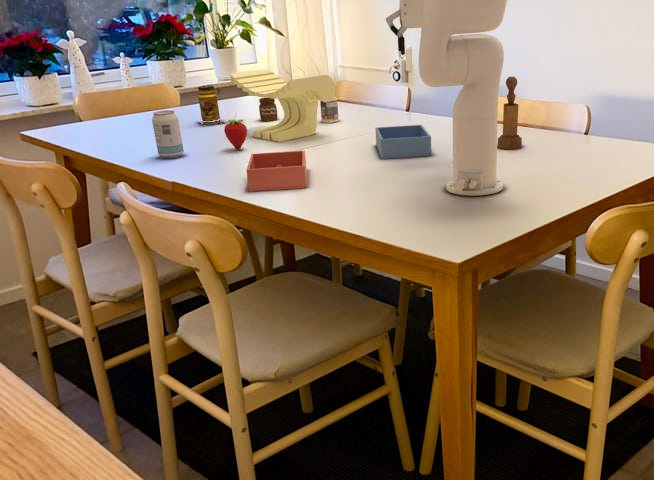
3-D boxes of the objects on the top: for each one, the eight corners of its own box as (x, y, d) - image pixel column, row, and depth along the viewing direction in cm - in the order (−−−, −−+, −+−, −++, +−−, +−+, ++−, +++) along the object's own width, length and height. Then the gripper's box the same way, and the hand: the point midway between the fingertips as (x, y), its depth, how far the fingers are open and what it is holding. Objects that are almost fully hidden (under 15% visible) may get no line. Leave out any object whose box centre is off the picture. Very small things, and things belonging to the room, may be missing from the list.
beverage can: (189, 154, 209) (181, 110, 203) (176, 159, 203) (168, 114, 198) (167, 153, 211) (159, 110, 205) (154, 159, 205) (145, 114, 199)
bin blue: (431, 155, 195) (431, 136, 193) (381, 158, 194) (380, 139, 192) (422, 142, 211) (421, 124, 208) (376, 145, 209) (375, 127, 207)
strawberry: (239, 146, 216) (234, 110, 211) (254, 149, 211) (249, 113, 207) (222, 149, 212) (217, 113, 208) (237, 153, 208) (232, 116, 203)
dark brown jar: (259, 119, 256) (254, 82, 250) (277, 117, 257) (273, 81, 252) (261, 122, 251) (257, 84, 245) (280, 120, 252) (275, 83, 247)
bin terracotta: (306, 187, 171) (304, 166, 169) (249, 191, 170) (246, 169, 168) (306, 170, 186) (304, 150, 184) (254, 173, 185) (251, 153, 183)
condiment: (204, 126, 248) (198, 88, 243) (197, 122, 255) (191, 85, 249) (225, 123, 251) (220, 86, 246) (218, 120, 258) (213, 83, 252)
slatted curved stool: (338, 135, 224) (333, 73, 216) (296, 145, 214) (290, 80, 206) (278, 125, 243) (272, 68, 235) (238, 133, 234) (230, 73, 225)
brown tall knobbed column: (520, 149, 198) (523, 78, 189) (496, 149, 199) (498, 78, 191) (522, 144, 203) (524, 74, 195) (498, 144, 205) (500, 75, 196)
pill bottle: (319, 121, 248) (316, 90, 243) (335, 119, 250) (332, 88, 245) (325, 123, 243) (322, 92, 239) (341, 121, 245) (339, 90, 241)
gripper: (452, -26, 180) (453, 50, 187) (382, -23, 178) (386, 54, 186) (458, -27, 173) (459, 52, 181) (385, -23, 172) (389, 56, 179)
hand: (422, 53), depth 183 cm, fingers open, 9 cm apart
